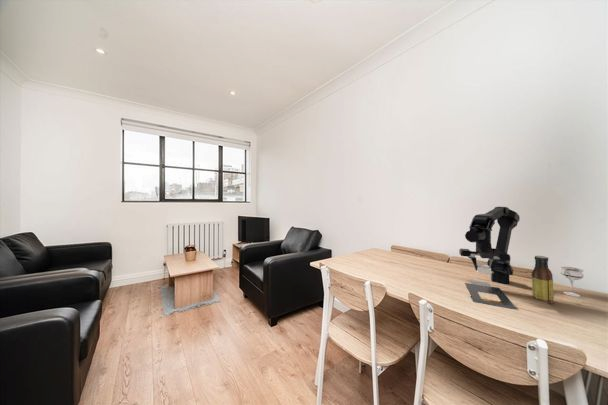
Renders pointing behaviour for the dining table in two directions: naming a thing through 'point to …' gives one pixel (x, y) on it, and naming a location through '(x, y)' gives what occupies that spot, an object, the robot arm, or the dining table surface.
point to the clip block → (483, 269)
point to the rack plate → (476, 297)
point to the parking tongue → (480, 283)
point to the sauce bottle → (542, 280)
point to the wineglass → (572, 277)
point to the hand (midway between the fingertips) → (483, 271)
